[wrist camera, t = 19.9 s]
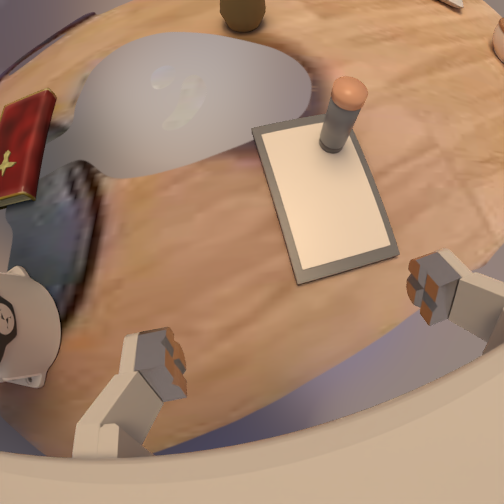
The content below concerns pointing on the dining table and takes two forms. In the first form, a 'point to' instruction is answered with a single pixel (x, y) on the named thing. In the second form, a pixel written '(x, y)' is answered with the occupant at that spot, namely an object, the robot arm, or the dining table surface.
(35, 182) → the hardcover book
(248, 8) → the squeeze bottle
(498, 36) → the lidded bowl
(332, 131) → the marker
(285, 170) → the writing board
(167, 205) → the dining table surface
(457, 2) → the salad plate
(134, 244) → the dining table surface
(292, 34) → the dining table surface
